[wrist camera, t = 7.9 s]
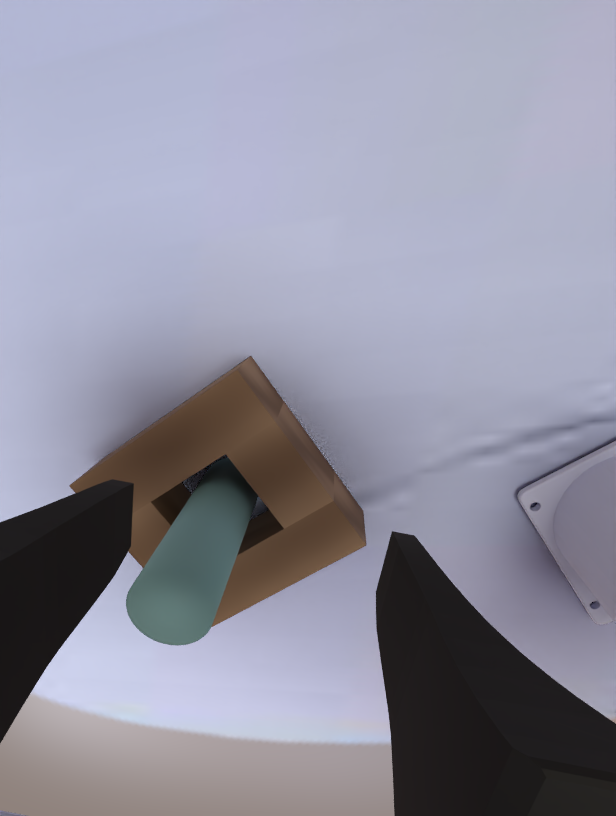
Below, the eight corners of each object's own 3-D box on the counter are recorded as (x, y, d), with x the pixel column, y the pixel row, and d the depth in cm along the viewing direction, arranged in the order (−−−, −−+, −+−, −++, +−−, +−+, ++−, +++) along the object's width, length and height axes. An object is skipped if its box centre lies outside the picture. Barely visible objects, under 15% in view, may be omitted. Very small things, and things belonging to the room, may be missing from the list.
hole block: (363, 511, 23) (366, 545, 20) (216, 591, 25) (201, 632, 23) (250, 355, 21) (236, 369, 18) (102, 459, 23) (69, 485, 20)
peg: (271, 492, 23) (231, 624, 15) (226, 517, 24) (163, 657, 15) (239, 447, 23) (176, 558, 14) (193, 475, 23) (108, 596, 15)
